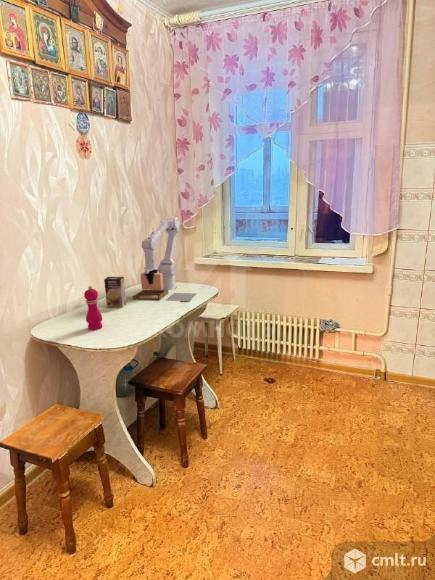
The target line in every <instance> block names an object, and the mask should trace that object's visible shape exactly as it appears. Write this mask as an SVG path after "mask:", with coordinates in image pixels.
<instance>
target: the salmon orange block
mask: <svg viewBox="0 0 435 580" xmlns="http://www.w3.org/2000/svg"><path fill="white" fill-rule="evenodd" d="M140 284H141V289H142V290H162V289H163V276H162V273H159V272H157V273H154V276H153V284H149V283H148V280H147V277H146V276H145V274H144V272H142V273H140Z"/></svg>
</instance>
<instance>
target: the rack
mask: <svg viewBox="0 0 435 580" xmlns="http://www.w3.org/2000/svg"><path fill="white" fill-rule="evenodd" d="M168 294H169V290H153V289H142V290H140V291H139V292H137V293H135V294H134V295H133V296H132V300H133V301H161V300H162V299H164V298H165V297H166V296H167V295H168ZM150 295H158V298H139V297H140V296H150Z"/></svg>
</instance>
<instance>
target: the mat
mask: <svg viewBox="0 0 435 580" xmlns="http://www.w3.org/2000/svg"><path fill="white" fill-rule="evenodd" d="M196 294H197V295H198V293H197V292H196V293H195V292H193V293H191V292H187V293H186V292H174V293H172V294H171V295H170V296H169V297H167V298H166V299H165V302H167V301H168V302H169V301H170V302H179V303H190V302H191V301H192V300H193V299H194V298H195V297H196V296H197V295H196ZM195 295H196V296H195ZM194 296H195V297H194ZM193 297H194V298H193ZM192 298H193V299H192ZM191 299H192V300H191ZM190 300H191V301H190Z"/></svg>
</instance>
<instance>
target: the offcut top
mask: <svg viewBox="0 0 435 580" xmlns="http://www.w3.org/2000/svg"><path fill="white" fill-rule="evenodd" d="M138 298H158V295H150V296H140V297H138Z"/></svg>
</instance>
